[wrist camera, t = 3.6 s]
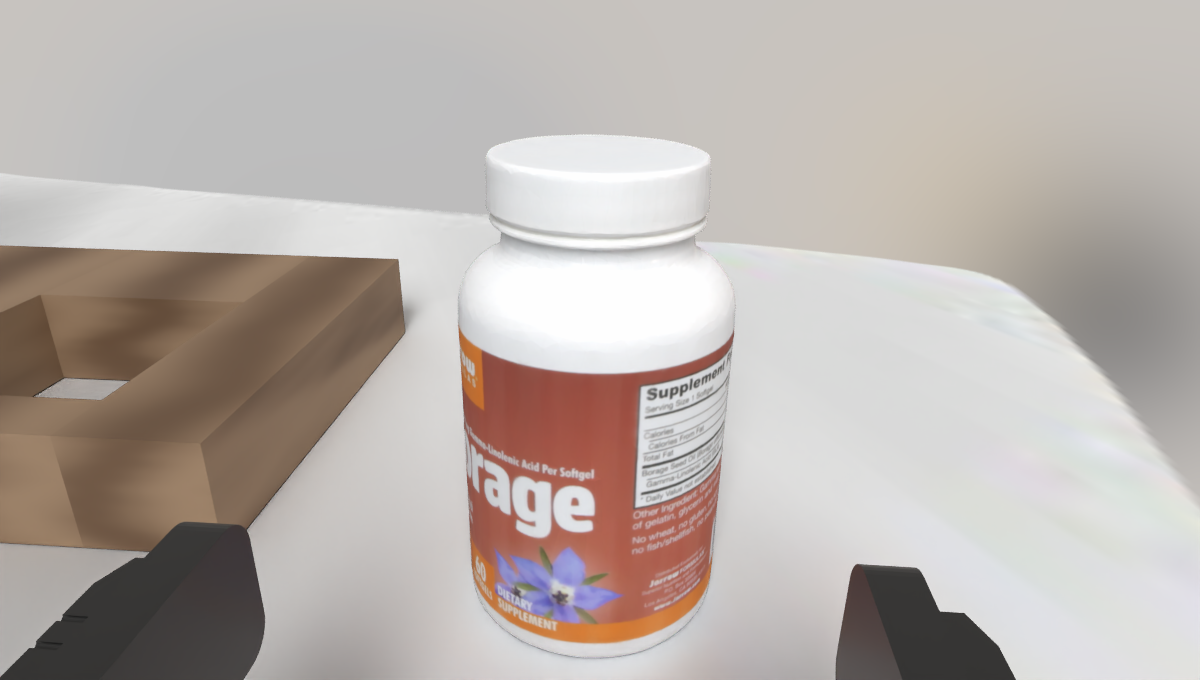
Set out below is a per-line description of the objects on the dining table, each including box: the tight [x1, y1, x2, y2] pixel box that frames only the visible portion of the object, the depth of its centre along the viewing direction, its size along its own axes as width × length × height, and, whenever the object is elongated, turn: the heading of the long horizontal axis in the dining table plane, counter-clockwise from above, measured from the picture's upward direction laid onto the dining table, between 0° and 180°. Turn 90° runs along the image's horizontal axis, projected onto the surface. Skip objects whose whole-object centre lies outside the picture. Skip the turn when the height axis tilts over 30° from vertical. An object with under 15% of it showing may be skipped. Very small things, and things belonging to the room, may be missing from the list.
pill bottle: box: [458, 135, 736, 658], centre depth 18 cm, size 6×6×11 cm
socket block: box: [0, 246, 405, 551], centre depth 28 cm, size 20×16×4 cm
